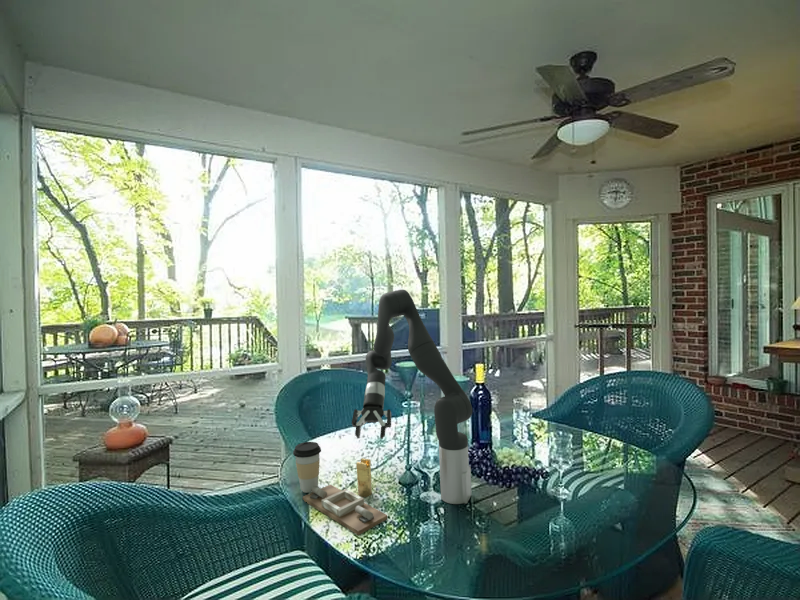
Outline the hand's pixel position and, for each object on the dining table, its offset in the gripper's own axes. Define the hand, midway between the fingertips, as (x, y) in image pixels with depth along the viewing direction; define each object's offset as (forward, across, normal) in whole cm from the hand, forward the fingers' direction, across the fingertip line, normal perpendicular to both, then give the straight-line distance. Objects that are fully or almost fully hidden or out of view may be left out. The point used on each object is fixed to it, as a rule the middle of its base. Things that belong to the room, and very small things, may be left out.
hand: (369, 437), depth 160 cm
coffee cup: (+17, -20, +4) cm, 27 cm away
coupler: (+18, 0, +2) cm, 19 cm away
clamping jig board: (+26, -5, -5) cm, 27 cm away
